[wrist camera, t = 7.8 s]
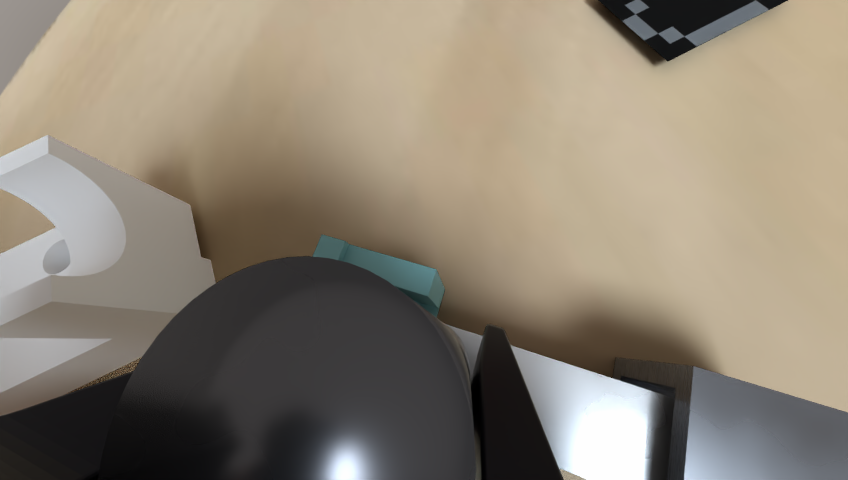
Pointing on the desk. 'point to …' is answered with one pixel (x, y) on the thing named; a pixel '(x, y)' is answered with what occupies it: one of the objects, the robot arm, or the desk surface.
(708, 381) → the outer sleeve
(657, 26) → the red board with handle
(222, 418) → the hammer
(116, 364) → the bracket
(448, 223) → the desk surface
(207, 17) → the desk surface
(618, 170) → the desk surface
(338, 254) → the socket block
